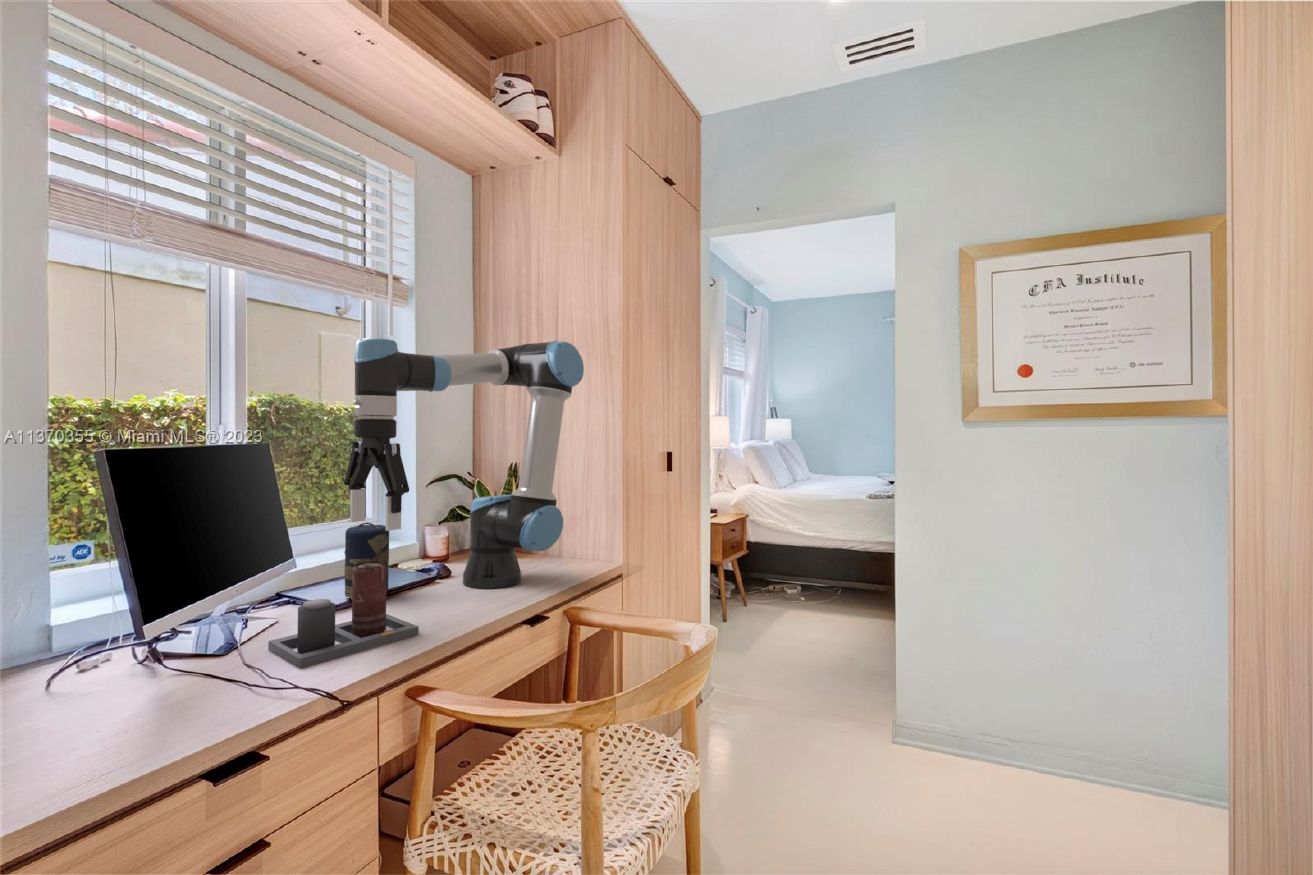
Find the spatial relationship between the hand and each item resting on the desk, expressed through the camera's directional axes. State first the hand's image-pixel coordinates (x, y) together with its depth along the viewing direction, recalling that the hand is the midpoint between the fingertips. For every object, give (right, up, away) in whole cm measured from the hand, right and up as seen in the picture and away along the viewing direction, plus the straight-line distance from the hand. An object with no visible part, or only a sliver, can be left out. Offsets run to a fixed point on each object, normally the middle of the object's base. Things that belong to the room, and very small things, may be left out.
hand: (374, 525), depth 118 cm
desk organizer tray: (-4, -22, -4) cm, 22 cm away
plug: (-7, -22, -8) cm, 24 cm away
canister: (-14, -21, +25) cm, 36 cm away
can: (-1, -22, +1) cm, 22 cm away
